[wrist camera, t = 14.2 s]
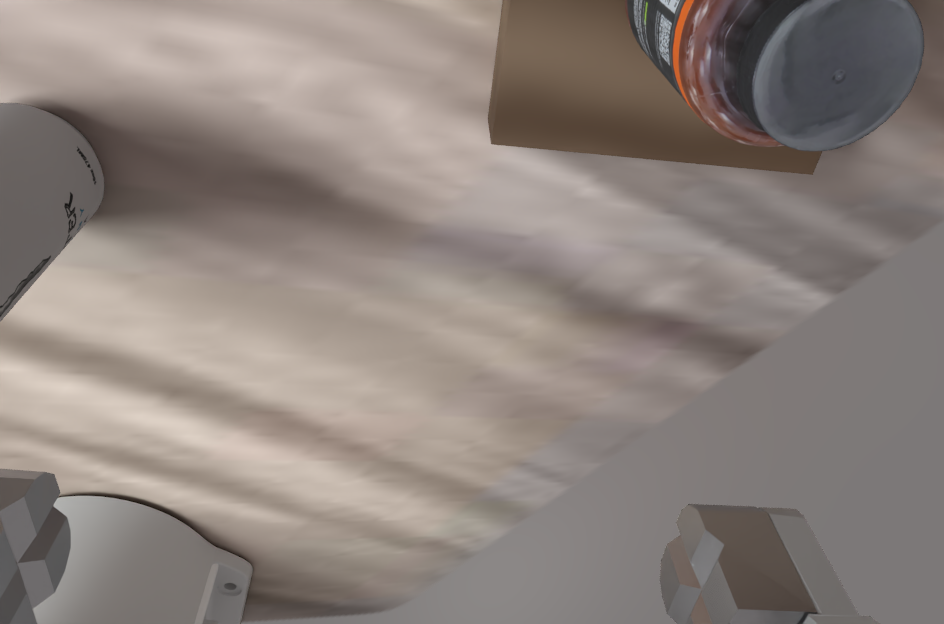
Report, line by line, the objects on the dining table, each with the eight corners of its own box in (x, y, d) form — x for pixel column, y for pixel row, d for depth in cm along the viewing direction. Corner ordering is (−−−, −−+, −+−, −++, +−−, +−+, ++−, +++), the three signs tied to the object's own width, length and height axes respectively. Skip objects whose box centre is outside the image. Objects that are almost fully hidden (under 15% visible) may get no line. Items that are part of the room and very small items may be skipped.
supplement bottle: (809, -2, 26) (1003, 100, 17) (668, 96, 28) (774, 234, 19) (740, -154, 24) (928, -129, 14) (589, -33, 26) (669, 56, 16)
